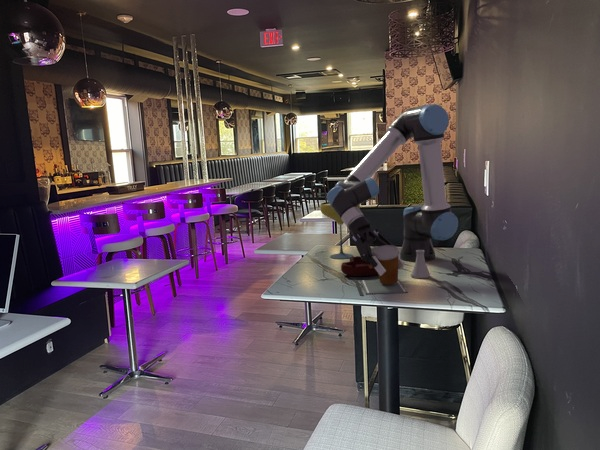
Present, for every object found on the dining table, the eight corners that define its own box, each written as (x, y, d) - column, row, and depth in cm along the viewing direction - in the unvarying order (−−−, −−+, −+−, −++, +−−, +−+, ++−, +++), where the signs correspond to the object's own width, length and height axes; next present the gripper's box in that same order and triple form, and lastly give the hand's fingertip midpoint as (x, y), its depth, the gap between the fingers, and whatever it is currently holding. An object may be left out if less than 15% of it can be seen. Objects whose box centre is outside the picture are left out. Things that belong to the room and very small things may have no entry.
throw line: (357, 280, 172) (357, 280, 172) (363, 295, 153) (363, 295, 153) (354, 280, 172) (354, 280, 172) (360, 296, 153) (360, 295, 153)
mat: (398, 280, 170) (398, 278, 170) (407, 292, 154) (407, 291, 154) (360, 281, 170) (360, 280, 170) (365, 294, 154) (365, 293, 154)
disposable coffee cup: (396, 287, 158) (393, 255, 154) (371, 285, 163) (367, 254, 159) (406, 276, 165) (402, 245, 162) (381, 274, 170) (377, 244, 167)
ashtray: (379, 280, 171) (379, 267, 170) (338, 277, 178) (338, 265, 177) (391, 269, 187) (391, 257, 186) (353, 267, 194) (352, 255, 193)
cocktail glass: (367, 254, 217) (366, 201, 213) (350, 262, 202) (348, 205, 198) (333, 251, 226) (331, 200, 223) (315, 259, 211) (312, 204, 208)
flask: (431, 274, 176) (430, 248, 174) (429, 279, 169) (429, 252, 168) (411, 273, 178) (411, 248, 177) (409, 278, 171) (409, 252, 170)
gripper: (369, 224, 178) (404, 269, 169) (329, 233, 163) (366, 283, 154) (380, 211, 173) (417, 257, 165) (340, 219, 158) (378, 270, 149)
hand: (392, 270), depth 159 cm, fingers open, 10 cm apart
